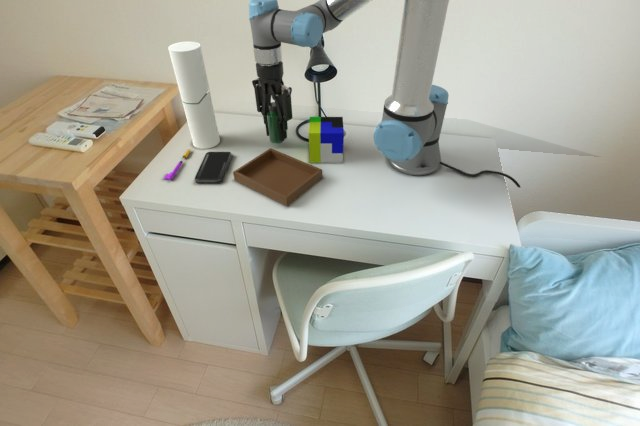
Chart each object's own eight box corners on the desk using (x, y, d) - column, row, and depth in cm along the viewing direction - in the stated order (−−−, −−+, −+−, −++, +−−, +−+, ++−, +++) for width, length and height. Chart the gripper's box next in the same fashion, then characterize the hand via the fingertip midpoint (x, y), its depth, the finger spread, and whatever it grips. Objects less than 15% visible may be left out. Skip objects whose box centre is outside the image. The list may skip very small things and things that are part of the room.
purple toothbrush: (172, 180, 107) (192, 150, 119) (170, 177, 106) (190, 147, 119) (164, 181, 108) (184, 152, 120) (162, 178, 107) (183, 149, 119)
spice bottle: (287, 138, 121) (284, 103, 113) (277, 145, 118) (274, 109, 110) (276, 134, 123) (272, 99, 115) (266, 140, 120) (262, 105, 112)
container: (223, 135, 127) (204, 41, 107) (215, 149, 120) (193, 51, 100) (198, 134, 127) (175, 41, 107) (189, 148, 121) (162, 51, 101)
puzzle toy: (342, 162, 114) (343, 133, 107) (309, 162, 114) (308, 133, 107) (341, 145, 121) (342, 116, 115) (310, 145, 122) (309, 116, 115)
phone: (193, 180, 106) (206, 151, 117) (194, 183, 106) (207, 154, 118) (221, 180, 105) (232, 151, 117) (222, 183, 106) (232, 154, 117)
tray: (322, 178, 108) (322, 169, 106) (287, 207, 98) (286, 197, 96) (271, 156, 117) (270, 147, 115) (234, 180, 107) (232, 171, 105)
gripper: (302, 63, 103) (306, 139, 118) (255, 52, 111) (264, 124, 126) (284, 72, 98) (291, 150, 113) (236, 59, 106) (248, 133, 122)
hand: (276, 136), depth 120 cm, fingers closed on spice bottle, 5 cm apart
